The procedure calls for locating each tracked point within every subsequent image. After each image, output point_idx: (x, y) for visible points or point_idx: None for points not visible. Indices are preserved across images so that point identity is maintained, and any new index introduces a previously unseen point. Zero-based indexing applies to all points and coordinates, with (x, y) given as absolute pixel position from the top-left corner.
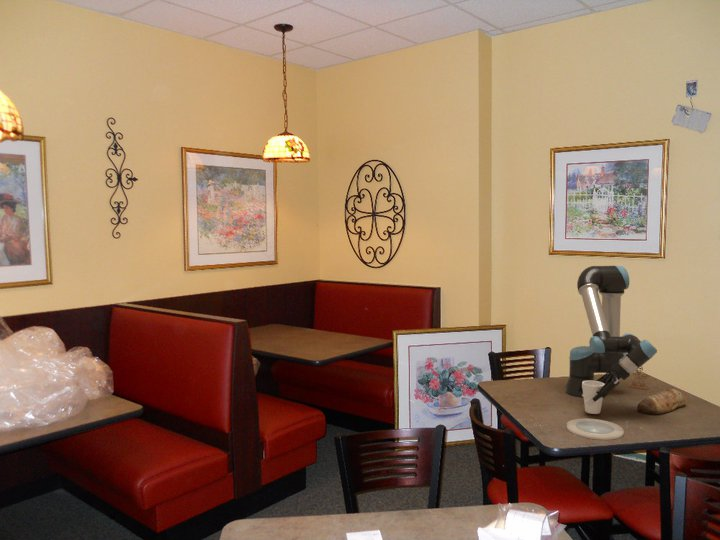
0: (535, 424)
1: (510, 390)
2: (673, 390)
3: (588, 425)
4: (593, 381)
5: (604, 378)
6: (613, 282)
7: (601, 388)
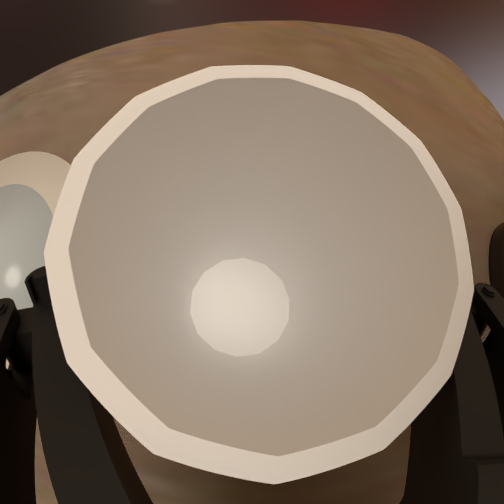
0: (82, 74)
1: (428, 73)
2: None
3: (6, 240)
4: (447, 257)
5: (468, 485)
6: None
7: (66, 363)
